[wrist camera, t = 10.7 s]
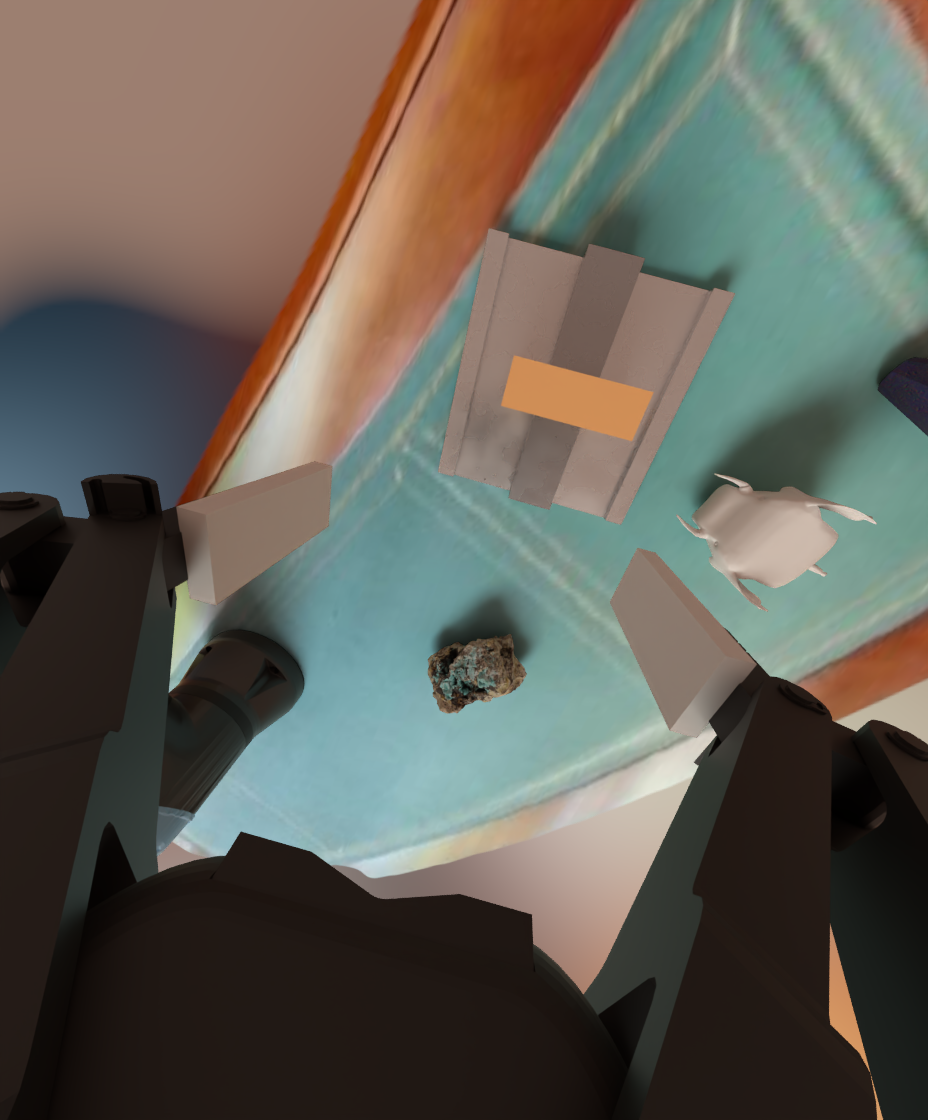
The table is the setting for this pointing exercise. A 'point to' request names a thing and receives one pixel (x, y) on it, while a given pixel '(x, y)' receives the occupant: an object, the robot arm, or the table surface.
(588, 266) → the rail
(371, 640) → the table surface
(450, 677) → the mineral specimen
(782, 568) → the elephant figurine
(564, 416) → the clip
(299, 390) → the table surface
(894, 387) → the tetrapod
